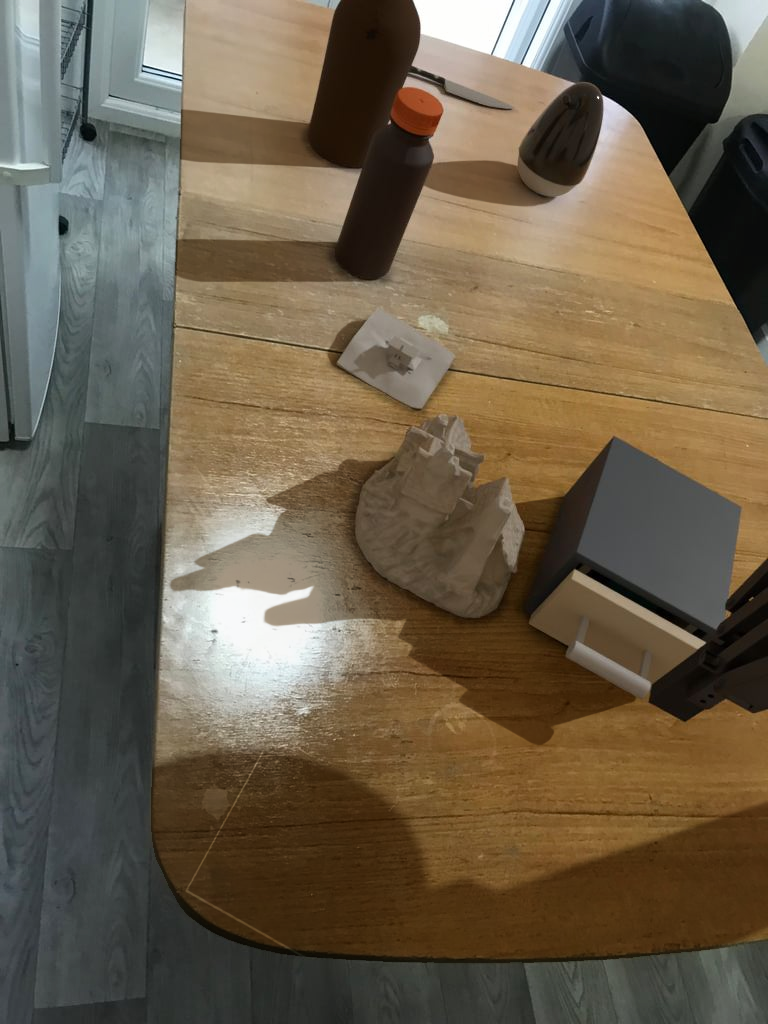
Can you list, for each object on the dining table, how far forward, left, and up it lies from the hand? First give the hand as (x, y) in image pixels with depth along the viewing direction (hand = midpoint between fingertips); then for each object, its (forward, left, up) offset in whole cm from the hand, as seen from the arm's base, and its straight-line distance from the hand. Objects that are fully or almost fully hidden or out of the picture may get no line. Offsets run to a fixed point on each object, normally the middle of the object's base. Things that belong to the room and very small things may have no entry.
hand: (668, 702), depth 55 cm
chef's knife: (+44, -98, -16) cm, 109 cm away
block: (0, -19, -14) cm, 23 cm away
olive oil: (+51, -68, -16) cm, 87 cm away
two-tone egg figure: (+26, -85, -16) cm, 90 cm away
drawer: (0, -17, -15) cm, 23 cm away
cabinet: (0, -22, -16) cm, 27 cm away
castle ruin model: (+17, -17, -16) cm, 29 cm away
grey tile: (+29, -35, -16) cm, 48 cm away
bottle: (+39, -48, -16) cm, 64 cm away
